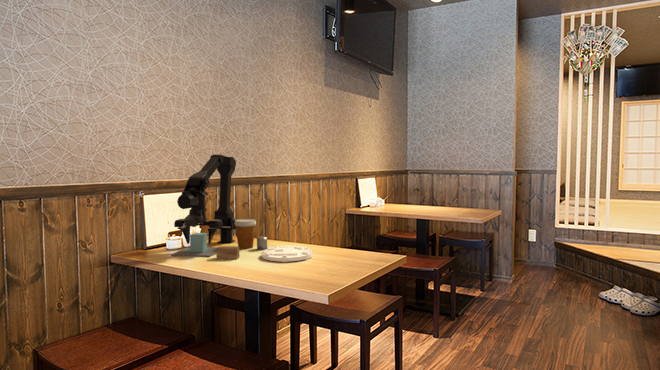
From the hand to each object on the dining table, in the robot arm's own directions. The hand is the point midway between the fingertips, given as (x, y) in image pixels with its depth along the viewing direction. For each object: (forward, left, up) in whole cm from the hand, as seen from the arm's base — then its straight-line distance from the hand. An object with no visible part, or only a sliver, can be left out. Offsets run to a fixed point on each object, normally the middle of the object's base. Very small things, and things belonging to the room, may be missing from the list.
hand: (198, 244), depth 177 cm
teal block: (0, 0, -3) cm, 3 cm away
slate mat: (0, 0, -3) cm, 3 cm away
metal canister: (-10, +24, -4) cm, 26 cm away
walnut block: (+9, +16, -4) cm, 19 cm away
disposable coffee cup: (-12, +16, -4) cm, 20 cm away
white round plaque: (+3, +38, -4) cm, 38 cm away
